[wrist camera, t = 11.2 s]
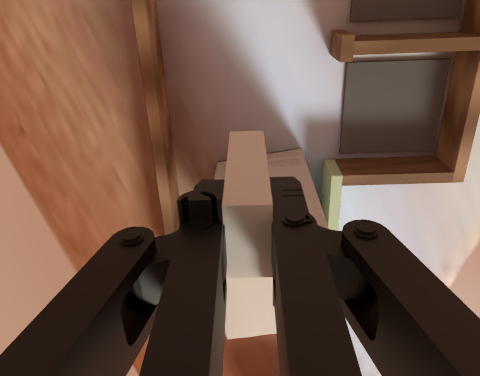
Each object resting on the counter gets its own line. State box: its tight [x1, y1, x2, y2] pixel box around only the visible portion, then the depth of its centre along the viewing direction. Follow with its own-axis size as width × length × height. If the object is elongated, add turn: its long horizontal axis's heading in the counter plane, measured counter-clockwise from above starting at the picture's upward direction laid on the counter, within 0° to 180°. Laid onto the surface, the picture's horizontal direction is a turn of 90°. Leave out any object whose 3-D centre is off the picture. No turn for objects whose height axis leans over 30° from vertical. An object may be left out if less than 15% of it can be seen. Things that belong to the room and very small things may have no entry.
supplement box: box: [214, 149, 329, 339], centre depth 34 cm, size 9×9×15 cm
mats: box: [340, 0, 462, 153], centre depth 34 cm, size 21×9×1 cm, turn 2°
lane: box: [131, 0, 480, 235], centre depth 34 cm, size 42×28×4 cm
